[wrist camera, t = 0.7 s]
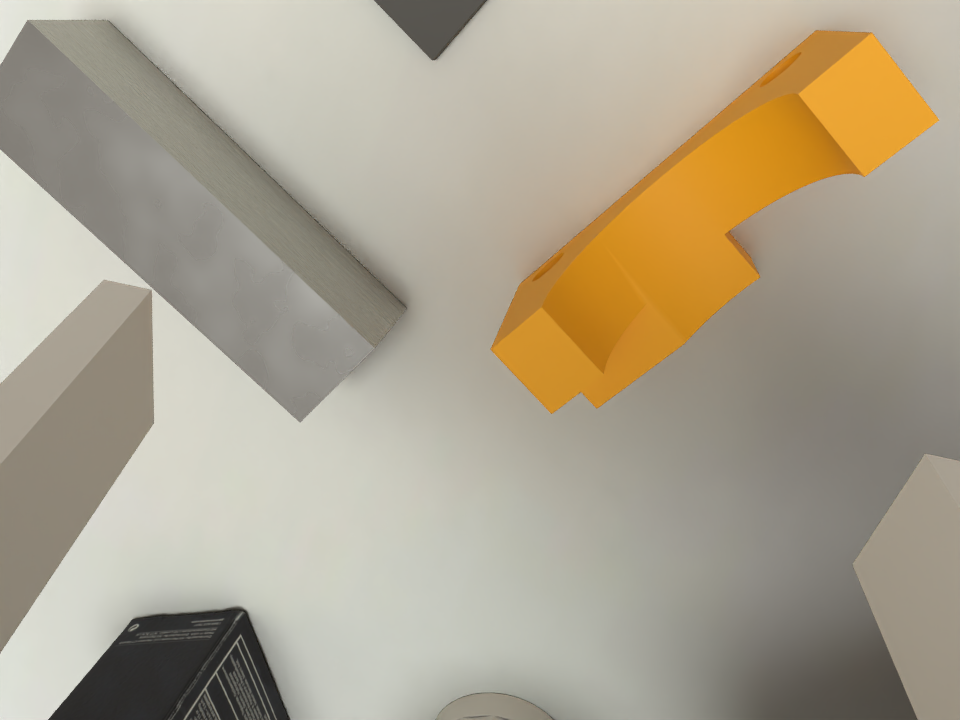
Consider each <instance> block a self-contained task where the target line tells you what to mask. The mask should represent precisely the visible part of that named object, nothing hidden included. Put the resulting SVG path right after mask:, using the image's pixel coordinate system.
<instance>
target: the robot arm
mask: <svg viewBox="0 0 960 720" xmlns="http://www.w3.org/2000/svg"><path fill="white" fill-rule="evenodd" d="M153 424H154V399H153V337H152V290H150V289H145V288H140V287H135V286H131V285H126V284H121V283H117V282H112V281H107V280H103V281H102V282H101V283H100V284H99V285H98V286H97V287H96V288H95V289H94V290H93V291H92V292H91V293H90V294H89V295H88V296H87V297H86V298H85V299H84V300H83V301H82V302H81V303H80V304H79V305H78V306H77V307H76V308H75V309H74V311H73V312H72V313H71V314H70V315H69V316H68V317H67V318H66V319H65V320H64V321H63V322H62V323H61V324H60V325H59V326H58V327H57V328H56V329H55V330H54V331H53V332H52V333H51V334H50V335H49V336H48V337H47V338H46V339H45V340H44V341H43V342H42V343H41V344H40V345H39V346H38V347H37V348H36V349H35V350H34V351H33V352H32V353H31V354H30V355H29V356H28V357H27V358H26V359H25V360H24V361H23V362H22V363H21V364H20V365H19V366H18V367H17V368H16V369H15V370H14V371H13V372H12V373H11V374H10V375H9V376H8V377H7V378H6V379H5V380H4V381H3V382H2V383H1V384H0V653H1V651H2V650H3V648H4V647H5V645H6V644H7V642H8V641H9V639H10V638H11V636H12V635H13V633H14V632H15V630H16V629H17V627H18V626H19V624H20V623H21V621H22V620H23V618H24V617H25V615H26V614H27V612H28V611H29V609H30V608H31V606H32V605H33V603H34V602H35V600H36V599H37V597H38V596H39V594H40V593H41V591H42V590H43V588H44V587H45V585H46V584H47V582H48V581H49V579H50V578H51V576H52V575H53V573H54V572H55V570H56V569H57V567H58V566H59V564H60V563H61V561H62V560H63V558H64V557H65V555H66V554H67V552H68V551H69V549H70V548H71V546H72V545H73V543H74V542H75V540H76V539H77V537H78V536H79V534H80V533H81V531H82V530H83V528H84V527H85V525H86V524H87V522H88V521H89V519H90V518H91V516H92V515H93V513H94V512H95V510H96V509H97V507H98V506H99V504H100V503H101V501H102V500H103V498H104V497H105V495H106V494H107V492H108V491H109V489H110V488H111V486H112V485H113V483H114V482H115V480H116V479H117V477H118V476H119V474H120V473H121V471H122V470H123V468H124V467H125V465H126V464H127V462H128V461H129V460H130V458H131V457H132V455H133V454H134V452H135V451H136V449H137V448H138V446H139V445H140V443H141V442H142V440H143V439H144V437H145V436H146V434H147V433H148V431H149V430H150V428H151V427H152V425H153ZM852 565H853V567H854V570H855V572H856V575H857V577H858V579H859V582H860V584H861V586H862V589H863V591H864V594H865V596H866V598H867V601H868V603H869V605H870V608H871V610H872V613H873V615H874V617H875V620H876V622H877V624H878V627H879V629H880V632H881V634H882V636H883V639H884V641H885V643H886V646H887V648H888V650H889V653H890V655H891V658H892V660H893V662H894V665H895V667H896V669H897V672H898V674H899V677H900V679H901V681H902V684H903V686H904V688H905V691H906V693H907V696H908V698H909V700H910V703H911V705H912V707H913V710H914V712H915V715H916V717H917V719H918V720H960V461H958V460H953V459H949V458H944V457H939V456H934V455H930V454H925V455H924V456H923V458H922V459H921V461H920V462H919V464H918V465H917V467H916V468H915V470H914V471H913V473H912V474H911V476H910V477H909V479H908V481H907V482H906V484H905V485H904V487H903V488H902V490H901V491H900V493H899V494H898V496H897V497H896V499H895V500H894V502H893V503H892V505H891V506H890V508H889V509H888V511H887V512H886V514H885V515H884V517H883V519H882V520H881V522H880V523H879V525H878V526H877V528H876V529H875V531H874V532H873V534H872V535H871V537H870V538H869V540H868V541H867V543H866V544H865V546H864V547H863V549H862V550H861V552H860V554H859V555H858V557H857V558H856V560H855V561H854V563H853V564H852Z"/></svg>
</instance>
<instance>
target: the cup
mask: <svg viewBox="0 0 960 720" xmlns="http://www.w3.org/2000/svg"><path fill="white" fill-rule="evenodd" d="M436 720H553V719H552V718H551V717H550V716H549V715H548V714H547V713H545V712H544V711H543V710H541V709H540V708H538V707H537V706H535V705H533V704H531V703H529V702H527V701H525V700H522V699H520V698H517V697H513V696H509V695H505V694H498V693H479V694H473V695H468V696H465V697H462V698H459V699H457V700H455V701H453V702H452V703H450V704H449V705H447V706H446V707H445V708H444V709H443V710H442V711H441V712H440V713H439V715H438V716H437V718H436Z"/></svg>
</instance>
